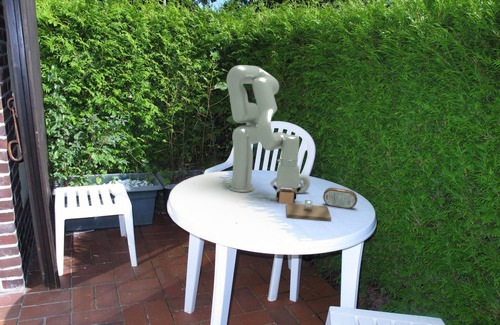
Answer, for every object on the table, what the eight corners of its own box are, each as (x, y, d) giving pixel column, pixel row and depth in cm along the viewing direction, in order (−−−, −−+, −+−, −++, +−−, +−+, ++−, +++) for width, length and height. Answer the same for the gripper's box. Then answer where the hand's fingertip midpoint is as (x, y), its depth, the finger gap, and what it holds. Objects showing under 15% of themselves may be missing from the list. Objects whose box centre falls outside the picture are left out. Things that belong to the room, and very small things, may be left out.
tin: (356, 208, 176) (358, 190, 174) (355, 210, 173) (357, 192, 171) (322, 203, 181) (324, 185, 179) (321, 205, 178) (323, 187, 176)
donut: (307, 191, 196) (309, 172, 194) (310, 194, 193) (312, 174, 191) (288, 192, 194) (290, 172, 192) (291, 194, 191) (292, 174, 188)
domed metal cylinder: (304, 211, 164) (305, 202, 163) (303, 208, 167) (304, 199, 167) (311, 211, 164) (312, 202, 163) (311, 209, 167) (312, 200, 166)
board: (286, 217, 160) (287, 214, 160) (286, 206, 173) (286, 203, 173) (330, 221, 159) (331, 217, 158) (326, 209, 172) (327, 206, 172)
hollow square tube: (278, 202, 177) (279, 192, 176) (279, 198, 184) (279, 188, 182) (293, 204, 177) (293, 193, 176) (292, 199, 183) (293, 189, 182)
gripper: (269, 163, 173) (267, 201, 177) (308, 165, 172) (305, 204, 176) (270, 159, 180) (267, 196, 184) (307, 162, 179) (304, 199, 183)
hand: (286, 199), depth 180 cm, fingers closed on hollow square tube, 6 cm apart
